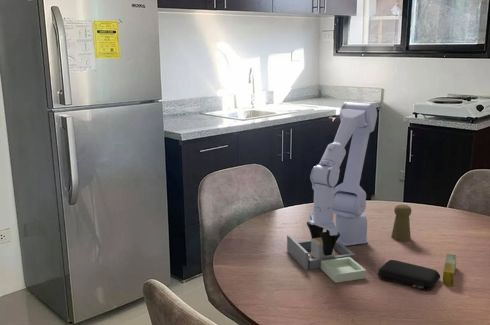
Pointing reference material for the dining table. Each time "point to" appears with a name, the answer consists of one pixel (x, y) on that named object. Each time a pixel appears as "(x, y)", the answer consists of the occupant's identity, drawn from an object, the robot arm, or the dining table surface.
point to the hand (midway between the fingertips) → (322, 249)
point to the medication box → (449, 270)
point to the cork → (401, 223)
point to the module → (318, 248)
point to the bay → (343, 269)
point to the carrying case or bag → (409, 274)
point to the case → (304, 258)
